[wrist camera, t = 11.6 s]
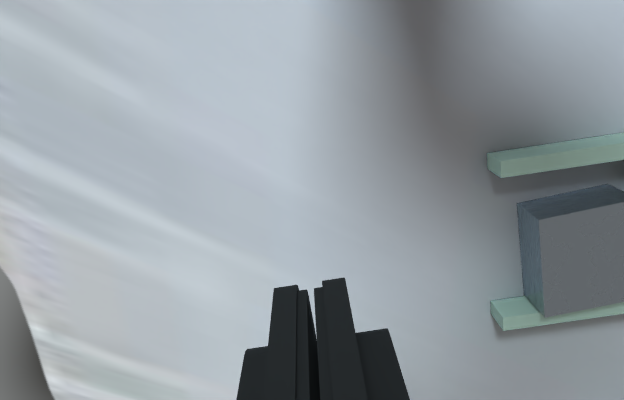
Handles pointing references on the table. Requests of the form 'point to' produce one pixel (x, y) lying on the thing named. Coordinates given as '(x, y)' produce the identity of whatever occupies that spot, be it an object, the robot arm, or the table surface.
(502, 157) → the bay
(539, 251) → the gray rectangular block
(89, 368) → the table surface
